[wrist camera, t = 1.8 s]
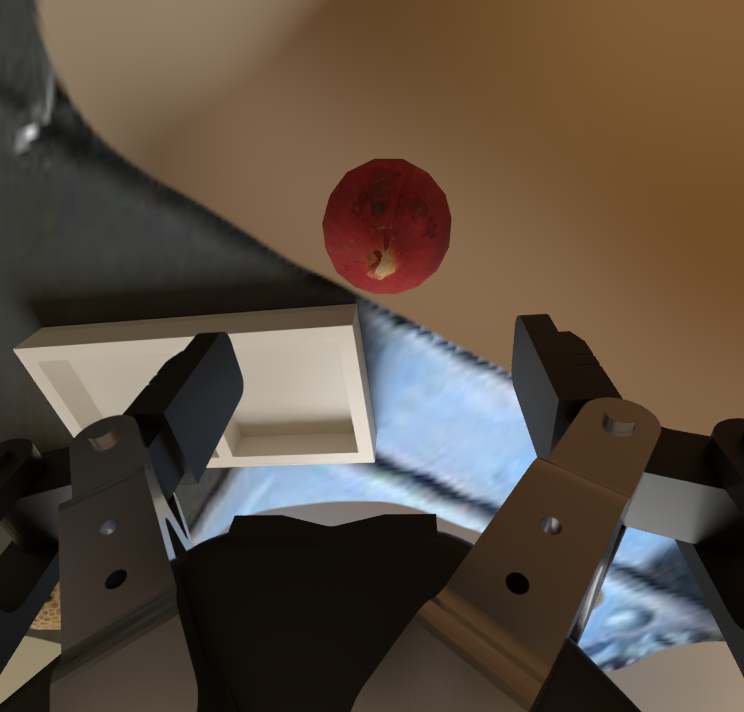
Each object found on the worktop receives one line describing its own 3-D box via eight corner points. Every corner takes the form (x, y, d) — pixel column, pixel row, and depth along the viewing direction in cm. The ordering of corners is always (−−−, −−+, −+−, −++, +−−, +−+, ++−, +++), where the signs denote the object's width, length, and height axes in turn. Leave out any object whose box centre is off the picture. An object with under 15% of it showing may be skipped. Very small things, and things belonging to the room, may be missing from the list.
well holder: (42, 327, 29) (12, 349, 26) (356, 303, 26) (352, 325, 24) (116, 445, 35) (97, 471, 32) (376, 435, 32) (374, 462, 30)
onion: (330, 146, 21) (297, 184, 15) (448, 144, 21) (468, 182, 14) (338, 259, 25) (314, 331, 18) (440, 259, 24) (454, 333, 18)
